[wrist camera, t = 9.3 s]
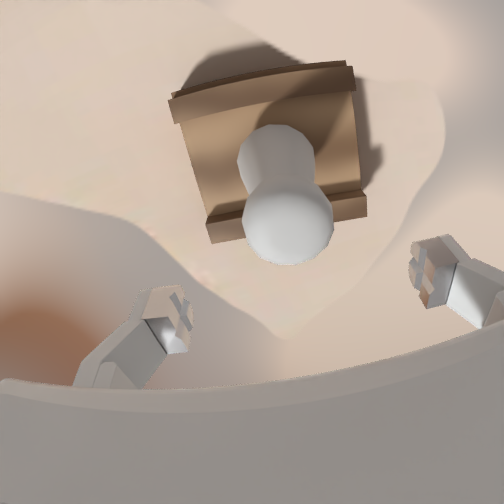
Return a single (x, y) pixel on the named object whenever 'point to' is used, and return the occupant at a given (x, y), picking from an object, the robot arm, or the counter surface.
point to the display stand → (275, 113)
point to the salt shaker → (283, 197)
